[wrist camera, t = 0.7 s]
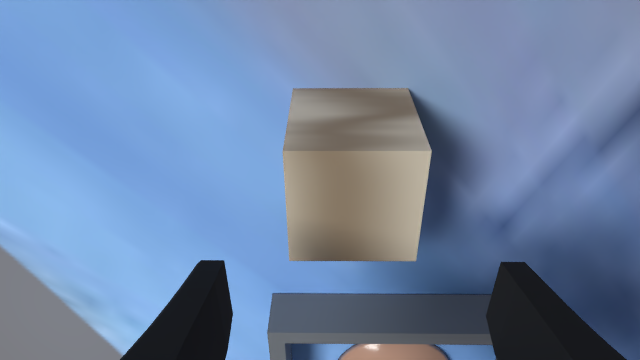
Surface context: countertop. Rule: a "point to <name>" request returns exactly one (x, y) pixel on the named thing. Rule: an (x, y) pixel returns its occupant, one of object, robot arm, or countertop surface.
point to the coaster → (393, 352)
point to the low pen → (376, 320)
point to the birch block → (354, 174)
